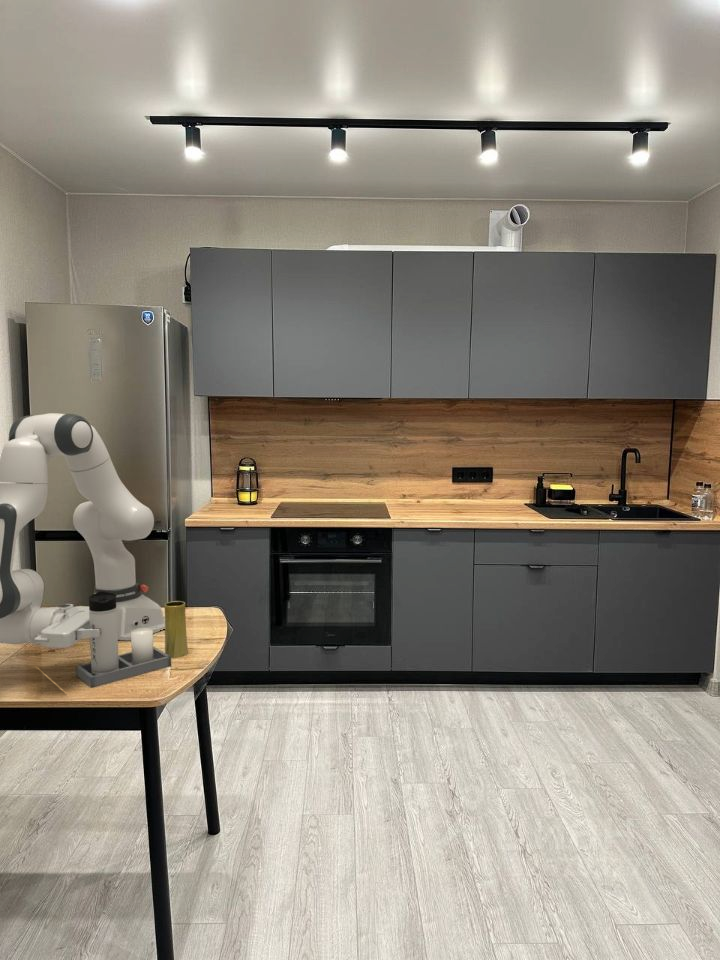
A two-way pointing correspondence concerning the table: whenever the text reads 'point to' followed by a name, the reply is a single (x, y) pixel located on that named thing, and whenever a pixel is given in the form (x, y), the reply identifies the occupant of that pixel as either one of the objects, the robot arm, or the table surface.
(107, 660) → the travel mug
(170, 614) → the vase
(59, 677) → the table surface
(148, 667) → the caddy
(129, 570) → the robot arm
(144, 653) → the white cylinder
